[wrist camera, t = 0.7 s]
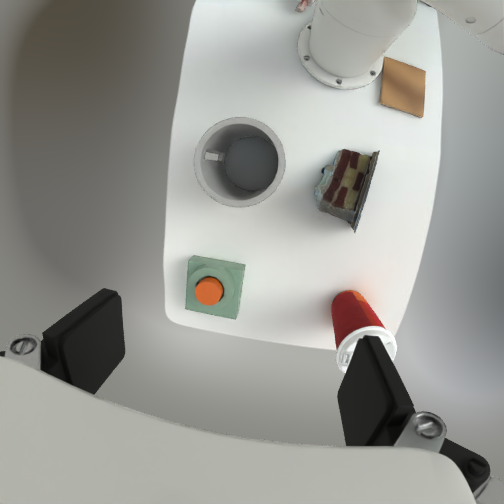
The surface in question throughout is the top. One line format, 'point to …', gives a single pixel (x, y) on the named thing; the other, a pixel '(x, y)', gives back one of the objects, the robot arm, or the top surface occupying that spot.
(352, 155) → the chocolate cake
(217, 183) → the cup
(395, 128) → the top surface
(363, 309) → the paper cup
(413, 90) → the cork trivet
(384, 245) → the top surface
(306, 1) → the toy
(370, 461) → the robot arm
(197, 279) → the button base
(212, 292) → the power button
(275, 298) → the top surface
